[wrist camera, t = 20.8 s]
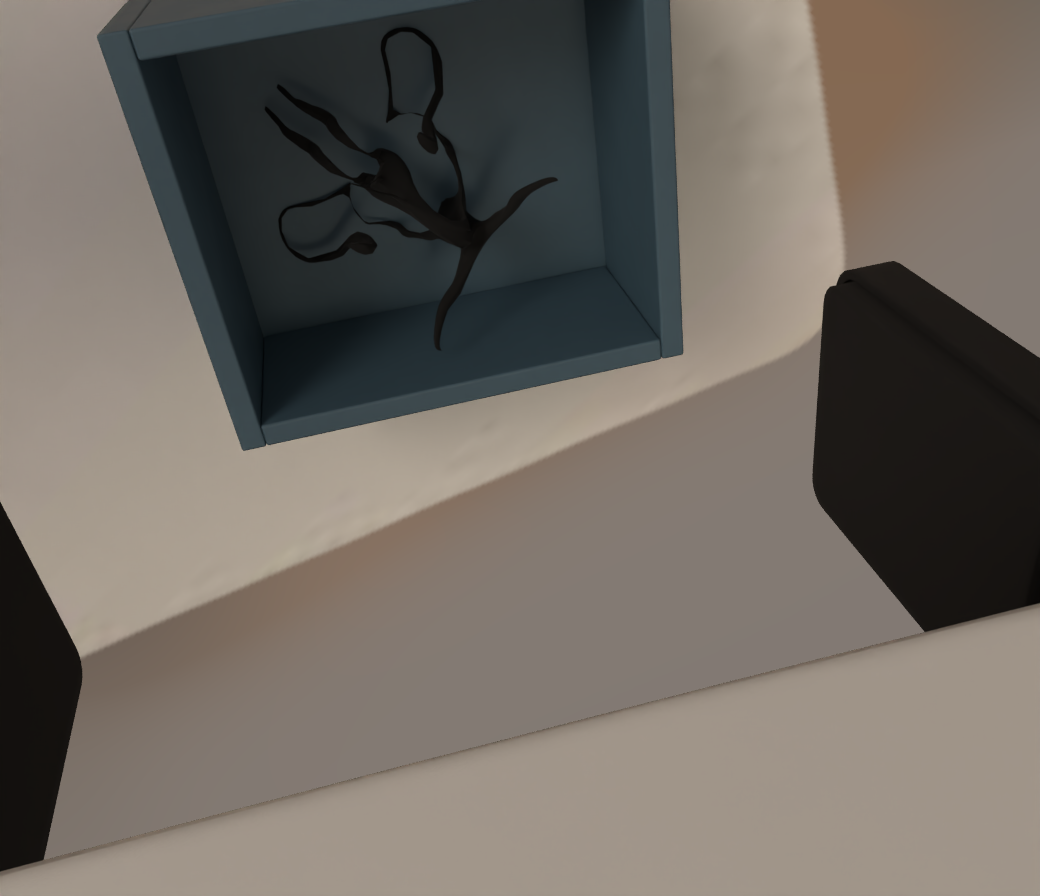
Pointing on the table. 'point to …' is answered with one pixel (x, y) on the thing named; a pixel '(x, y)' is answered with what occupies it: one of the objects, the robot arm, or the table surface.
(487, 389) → the teal open box
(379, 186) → the creature
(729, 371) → the table surface
